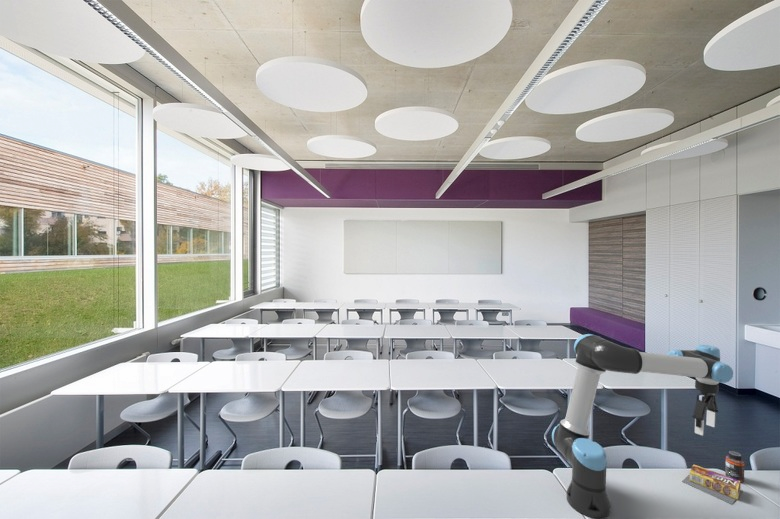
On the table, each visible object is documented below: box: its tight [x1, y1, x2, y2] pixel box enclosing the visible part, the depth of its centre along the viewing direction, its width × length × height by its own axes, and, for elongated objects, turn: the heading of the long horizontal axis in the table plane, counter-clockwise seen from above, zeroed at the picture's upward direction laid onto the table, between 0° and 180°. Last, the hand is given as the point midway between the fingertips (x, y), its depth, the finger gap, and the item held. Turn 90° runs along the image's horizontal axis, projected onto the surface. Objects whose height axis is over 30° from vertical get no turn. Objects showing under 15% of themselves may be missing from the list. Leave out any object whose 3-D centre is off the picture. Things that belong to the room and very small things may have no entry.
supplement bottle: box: [724, 450, 745, 483], centre depth 155 cm, size 6×6×11 cm
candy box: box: [688, 464, 742, 500], centre depth 149 cm, size 9×4×15 cm
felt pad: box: [681, 473, 743, 505], centre depth 149 cm, size 16×14×1 cm
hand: (704, 430), depth 151 cm, fingers open, 13 cm apart
